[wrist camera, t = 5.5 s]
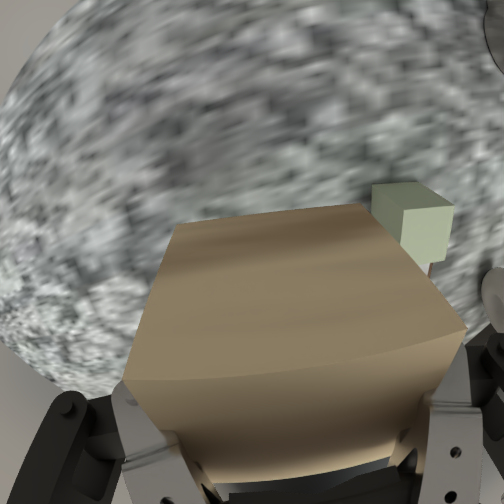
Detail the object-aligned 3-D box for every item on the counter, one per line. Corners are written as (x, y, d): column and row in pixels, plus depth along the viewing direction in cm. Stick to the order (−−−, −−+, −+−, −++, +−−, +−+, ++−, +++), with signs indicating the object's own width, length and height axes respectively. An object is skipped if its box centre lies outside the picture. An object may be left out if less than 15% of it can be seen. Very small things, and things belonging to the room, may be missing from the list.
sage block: (371, 184, 24) (403, 209, 19) (417, 181, 24) (454, 205, 19) (369, 234, 27) (396, 269, 22) (413, 229, 27) (444, 260, 22)
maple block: (176, 224, 9) (121, 379, 4) (360, 203, 9) (468, 328, 4) (211, 351, 12) (205, 482, 7) (348, 333, 12) (392, 455, 7)
